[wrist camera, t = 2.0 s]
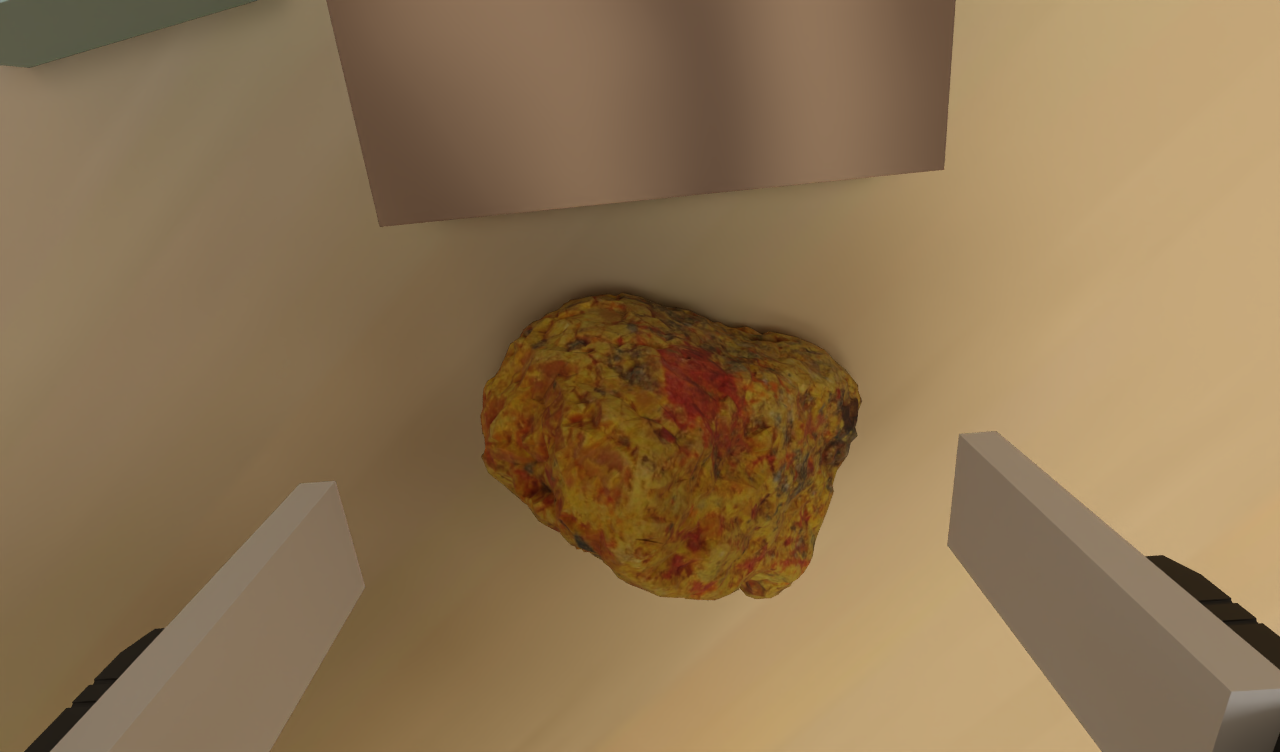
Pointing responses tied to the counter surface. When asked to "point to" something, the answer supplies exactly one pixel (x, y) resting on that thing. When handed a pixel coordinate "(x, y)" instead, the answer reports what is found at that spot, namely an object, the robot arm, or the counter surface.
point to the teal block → (87, 24)
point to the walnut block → (636, 98)
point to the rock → (671, 443)
